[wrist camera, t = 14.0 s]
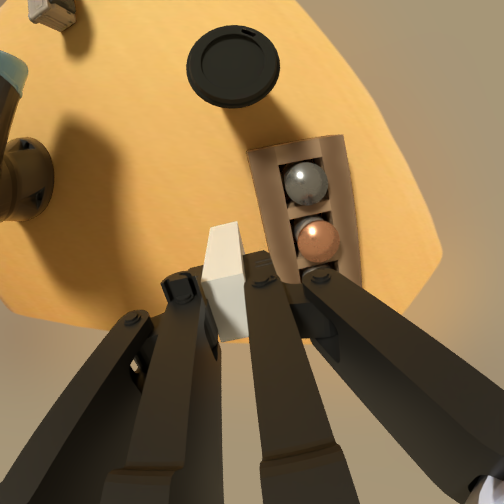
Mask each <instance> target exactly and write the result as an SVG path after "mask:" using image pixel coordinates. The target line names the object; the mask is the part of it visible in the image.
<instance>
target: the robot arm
mask: <svg viewBox="0 0 504 504" xmlns="http://www.w3.org/2000/svg"><path fill="white" fill-rule="evenodd" d="M27 76H28V67H27V65H26V64H25V62H23V61H22V60H21V59H19V58H17V57H15V56H13V55H11V54H8V53H6V52H4V51H1V50H0V222H3V221H27V220H29V219H32V218H34V217H36V216H37V215H39V214H40V213H41V212H42V211H43V210H44V209H45V208H46V206H47V204H48V203H49V200H50V198H51V195H52V191H53V184H54V172H53V165H52V161H51V158H50V156H49V154H48V152H47V150H46V148H45V147H44V146H43V145H42V144H41V143H40V142H39V141H37V140H36V139H33V138H29V137H24V138H16V139H13V140H11V141H9V142H8V143H7V140H8V136H9V132H10V129H11V125H12V122H13V118H14V115H15V112H16V109H17V105H18V102H19V100H20V99H21V98H22V91H23V88H24V85H25V82H26V79H27ZM160 284H161V286H162V289H163V292H164V294H165V297H166V299H167V302H168V304H167V307H166V311H165V313H162V314H160V315H158V316H155V317H152V318H150V316H149V314H148V312H147V311H145V310H136V311H135V310H134V311H131V312H128V313H127V314H126V315H124V316H123V317H122V318H121V319H119V320H118V322H117V323H116V324H115V325H114V327H113V328H112V329H111V330H110V332H109V333H108V334H107V336H105V338H104V339H103V340H102V342H101V343H100V344H99V345H98V347H97V348H96V349H95V350H94V352H93V353H92V354H91V356H90V357H89V358H88V359H87V361H86V362H85V363H84V365H83V366H82V367H81V368H80V370H79V371H78V372H77V374H76V375H75V376H74V378H73V379H72V380H71V382H70V383H69V384H68V386H67V387H66V389H65V390H64V391H63V393H62V394H61V395H60V397H59V398H58V399H57V401H56V402H55V404H54V405H53V406H52V408H51V409H50V410H49V412H48V413H47V415H46V416H45V418H44V419H43V420H42V422H41V423H40V425H39V426H38V428H37V429H36V431H35V432H34V433H33V435H32V436H31V438H30V439H29V441H28V443H27V444H26V445H25V447H24V448H23V450H22V451H21V453H20V455H19V456H18V458H17V459H16V461H15V462H14V464H13V465H12V467H11V469H10V470H9V472H8V474H7V475H6V477H5V478H4V480H3V481H2V482H1V483H0V504H224V496H223V495H224V493H223V464H222V463H223V462H222V414H221V413H222V412H221V411H222V410H221V348H220V345H219V342H218V334H219V337H220V340H221V342H226V341H231V340H235V339H240V338H245V337H249V343H250V352H251V361H252V370H253V379H254V388H255V397H256V404H257V414H258V422H259V431H260V439H261V447H262V457H263V458H262V461H261V463H260V480H261V488H262V496H263V504H360V503H359V500H358V496H357V493H356V490H355V487H354V484H353V481H352V477H351V474H350V471H349V468H348V465H347V462H346V459H345V457H344V454H343V451H342V449H341V447H340V445H338V444H336V442H335V439H334V436H333V434H332V430H331V427H330V424H329V421H328V418H327V415H326V412H325V409H324V406H323V403H322V400H321V397H320V394H319V391H318V387H317V384H316V382H315V379H314V376H313V373H312V370H311V367H310V364H309V361H308V358H307V355H306V352H305V349H304V346H303V343H302V340H301V339H302V338H310V340H311V342H312V344H313V345H314V346H315V348H316V349H317V350H318V351H319V352H320V353H321V355H322V356H323V357H324V358H325V359H326V361H327V362H328V363H329V364H330V365H331V366H332V367H333V369H334V370H335V371H336V372H337V373H338V374H339V376H340V377H341V378H342V379H343V380H344V382H345V383H346V384H347V385H348V386H349V387H350V388H351V390H352V391H353V392H354V393H355V394H356V395H357V397H359V399H360V400H361V401H362V402H363V403H364V405H365V406H366V407H367V408H368V409H369V410H370V411H371V413H372V414H373V415H374V416H375V417H376V418H377V419H378V420H379V422H380V423H381V424H382V425H383V426H384V427H385V429H386V430H387V431H388V432H389V433H390V434H391V435H392V436H393V438H394V439H395V440H396V441H397V442H398V443H399V444H400V446H401V447H402V448H403V449H404V450H405V451H406V452H407V453H408V455H410V457H411V458H412V459H413V460H414V461H415V462H416V463H417V465H418V466H419V467H420V468H421V469H422V470H423V471H424V472H425V474H426V475H427V476H428V477H429V478H430V479H431V480H432V481H433V482H434V483H435V484H436V485H437V486H438V487H439V488H440V489H441V490H442V491H443V492H444V493H445V494H447V495H448V496H449V497H451V498H452V499H454V500H455V501H456V502H458V503H460V504H504V390H503V389H501V388H500V387H499V386H498V385H496V384H495V383H494V382H492V381H491V380H490V379H488V378H487V377H486V376H484V375H483V374H482V373H480V372H479V371H478V370H476V369H475V368H474V367H472V366H471V365H470V364H468V363H467V362H466V361H464V360H463V359H462V358H460V357H459V356H458V355H456V354H455V353H453V352H452V351H451V350H449V349H448V348H446V347H445V346H444V345H442V344H441V343H440V342H438V341H437V340H435V339H434V338H433V337H431V336H430V335H429V334H427V333H426V332H424V331H423V330H422V329H420V328H419V327H417V326H416V325H415V324H413V323H412V322H410V321H409V320H407V319H406V318H405V317H403V316H402V315H400V314H399V313H398V312H396V311H395V310H393V309H392V308H390V307H389V306H387V305H386V304H385V303H383V302H382V301H380V300H379V299H377V298H376V297H374V296H373V295H372V294H370V293H369V292H367V291H366V290H364V289H363V288H361V287H360V286H358V285H357V284H355V283H354V282H352V281H351V280H349V279H348V278H347V277H345V276H344V275H342V274H341V273H339V272H338V271H335V270H333V269H327V268H322V269H321V268H319V269H316V270H313V271H310V272H308V273H306V274H305V275H304V276H303V278H302V283H300V284H290V283H285V282H282V281H281V279H280V277H279V276H278V275H277V273H276V270H275V268H274V265H273V262H272V259H271V256H270V253H268V252H266V251H264V250H263V251H258V252H254V253H250V254H245V252H244V248H243V244H242V239H241V235H240V231H239V227H238V223H237V221H235V222H231V223H227V224H223V225H219V226H215V227H210V233H209V238H208V244H207V249H206V255H205V261H204V265H201V266H197V267H193V268H190V269H189V270H188V271H181V272H177V273H174V274H172V275H170V276H168V277H166V278H165V279H164V280H163V281H162V282H161V283H160ZM133 359H134V361H135V362H136V364H137V366H138V369H137V370H136V371H135V372H134V371H133V370H132V368H131V366H130V364H131V362H132V361H133Z"/></svg>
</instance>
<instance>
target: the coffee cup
mask: <svg viewBox="0 0 504 504" xmlns="http://www.w3.org/2000/svg"><path fill="white" fill-rule="evenodd" d="M245 29H246V30H245ZM186 70H187V77H188V81H189V83H190V85H191V87H192V89H193V90H194V91H195V92H196V94H197V95H198V96H199V97H201V98H202V99H203V100H204V101H206V102H208V103H210V104H212V105H215V106H218V107H222V108H242V107H246V106H250V105H252V104H254V103H256V102H258V101H260V100H261V99H263V98H264V97H265V96H266V95H267V94H268V93H269V92H270V91H271V90H272V89H273V87H274V86H275V84H276V82H277V79H278V77H279V72H280V60H279V56H278V53H277V50H276V49H275V47H274V45H273V44H272V42H271V41H270V40H269V39H268V38H267V37H266V36H264V35H263V34H262V33H261V32H259V31H257V30H255V29H252V28H249V27H246V26H238V25H230V26H223V27H219V28H216V29H214V30H211V31H209V32H208V33H206V34H205V35H203V36H202V37H201V38H200V39H199V40H198V41H197V42H196V43H195V44H194V46H193V47H192V49H191V51H190V53H189V55H188V59H187V64H186Z"/></svg>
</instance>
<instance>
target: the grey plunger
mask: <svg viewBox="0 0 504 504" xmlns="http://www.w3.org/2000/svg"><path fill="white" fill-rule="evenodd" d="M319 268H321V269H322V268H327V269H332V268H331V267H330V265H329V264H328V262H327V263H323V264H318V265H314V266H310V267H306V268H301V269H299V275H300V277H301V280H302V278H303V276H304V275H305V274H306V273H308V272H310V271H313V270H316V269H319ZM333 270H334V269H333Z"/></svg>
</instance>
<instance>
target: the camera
mask: <svg viewBox="0 0 504 504" xmlns="http://www.w3.org/2000/svg"><path fill="white" fill-rule="evenodd" d="M28 9H29V14H28V17H29V19H30V21H31V22H33V23H34V24H37V23H41V24H43V25H46V26H48V27H50V28H52V29H55V30H57V31H59V32H61V31H63V30H65V29H66V28H68V27H69V26H71V25H72V24H74V23H75V22H76V17H75V12H76V9H75V4H74V0H28Z"/></svg>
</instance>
